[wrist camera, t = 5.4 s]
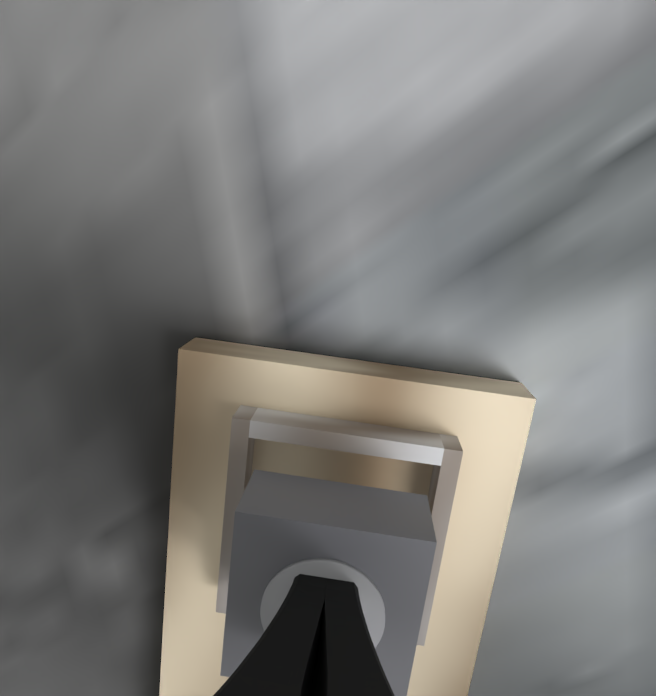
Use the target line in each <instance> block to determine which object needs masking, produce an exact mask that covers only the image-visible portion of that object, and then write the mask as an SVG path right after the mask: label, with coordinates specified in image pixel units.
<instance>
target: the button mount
mask: <svg viewBox="0 0 656 696" xmlns="http://www.w3.org/2000/svg"><path fill="white" fill-rule="evenodd" d="M535 402H536V398H535V397H534V396H533V395H532V394H531V393H530V392H529V391H528V390H527V389H526V387H525V386H524V385H523V384H522V383H520V382H512V381H505V380H498V379H491V378H484V377H476V376H469V375H462V374H455V373H448V372H441V371H433V370H426V369H419V368H412V367H405V366H397V365H390V364H383V363H376V362H369V361H362V360H354V359H347V358H340V357H333V356H326V355H318V354H311V353H304V352H297V351H290V350H283V349H275V348H268V347H261V346H254V345H247V344H239V343H232V342H225V341H218V340H211V339H204V338H196V337H195V338H194V339H192V340H191V341H189V342H188V343H186V344H185V345H184V346H182V347H181V348H179V349H178V367H177V385H176V403H175V421H174V439H173V457H172V475H171V493H170V511H169V529H168V547H167V565H166V583H165V601H164V619H163V637H162V655H161V673H160V691H159V696H213V695H214V694H215V693H216V692H217V691H218V690H219V689H220V688H221V686H222V685H223V684H224V683H225V682H226V681H227V680H228V678H229V677H226V676H220V673H221V662H222V650H223V639H224V628H225V617H226V606H227V594H228V583H229V572H230V561H231V550H232V539H233V527H234V516H235V510H236V508H237V506H238V504H239V502H240V499H241V497H242V495H243V493H244V491H245V489H246V486H247V484H248V482H249V480H250V478H251V476H252V473H253V471H254V469H255V470H261V471H268V472H275V473H281V474H288V475H295V476H301V477H308V478H315V479H321V480H328V481H335V482H341V483H348V484H355V485H361V486H368V487H375V488H381V489H388V490H395V491H401V492H408V493H415V494H421V495H427V497H428V502H429V507H430V511H431V516H432V521H433V526H434V531H435V536H436V541H437V544H436V550H435V555H434V560H433V565H432V570H431V575H430V580H429V585H428V590H427V595H426V600H425V605H424V610H423V615H422V620H421V626H420V631H419V636H418V641H417V646H416V651H415V656H414V661H413V666H412V671H411V676H410V681H409V686H408V691H407V696H467V695H468V691H469V687H470V683H471V678H472V674H473V670H474V665H475V661H476V657H477V652H478V648H479V644H480V639H481V635H482V631H483V627H484V622H485V618H486V614H487V609H488V605H489V601H490V596H491V592H492V588H493V583H494V579H495V575H496V570H497V566H498V562H499V558H500V553H501V549H502V545H503V540H504V536H505V532H506V527H507V523H508V519H509V514H510V510H511V506H512V502H513V497H514V493H515V489H516V484H517V480H518V476H519V471H520V467H521V463H522V458H523V454H524V450H525V445H526V441H527V437H528V433H529V428H530V424H531V420H532V415H533V411H534V407H535Z"/></svg>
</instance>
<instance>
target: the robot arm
mask: <svg viewBox="0 0 656 696" xmlns="http://www.w3.org/2000/svg"><path fill="white" fill-rule="evenodd" d="M213 696H395V695H394V693H393V691H392V688H391V686H390V684H389V682H388V680H387V677H386V675H385V673H384V670H383V668H382V665H381V663H380V660H379V658H378V655H377V652H376V650H375V647H374V644H373V642H372V639H371V636H370V633H369V630H368V627H367V624H366V620H365V617H364V614H363V610H362V606H361V602H360V597H359V592H358V587H357V586H356V584H355V583H354V582H349V581H343V580H336V579H330V578H324V577H317V576H311V575H305V574H299V575H298V576H296V577H295V578H294V580H293V583H292V586H291V588H290V590H289V592H288V594H287V596H286V598H285V600H284V601H283V603H282V605H281V607H280V608H279V610H278V612H277V613H276V615H275V616H274V618H273V620H272V621H271V623H270V624H269V626H268V627H267V629H266V630H265V632H264V633H263V635H262V636H261V637H260V639H259V640H258V642H257V643H256V644H255V646H254V647H253V648H252V650H251V651H250V652H249V653H248V655H247V656H246V657H245V659H244V660H243V661H242V663H241V664H240V665H239V666H238V668H237V669H236V670H235V671H234V672H233V674H232V675H231V676H230V677H229V678H228V680H227V681H226V682H225V683H224V684H223V685H222V686H221V688H220V689H219V690H218V691H217V692H216V693H215V694H214V695H213Z"/></svg>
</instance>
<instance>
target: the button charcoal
mask: <svg viewBox="0 0 656 696" xmlns="http://www.w3.org/2000/svg"><path fill="white" fill-rule="evenodd" d="M436 544H437V541H436V536H435V531H434V526H433V521H432V516H431V511H430V507H429V502H428V497H427V495H421V494H415V493H408V492H401V491H395V490H388V489H381V488H375V487H368V486H361V485H355V484H348V483H341V482H335V481H328V480H321V479H315V478H308V477H301V476H295V475H288V474H281V473H275V472H268V471H261V470H255V469H254V471H253V473H252V476H251V478H250V480H249V482H248V484H247V486H246V489H245V491H244V493H243V495H242V497H241V499H240V502H239V504H238V506H237V508H236V510H235V516H234V527H233V539H232V550H231V561H230V572H229V583H228V594H227V606H226V617H225V628H224V639H223V650H222V662H221V673H220V676H226V677H230V676H231V675H232V674H233V672H234V671H235V670H236V669H237V668H238V666H239V665H240V664H241V663H242V661H243V660H244V659H245V657H246V656H247V655H248V653H249V652H250V651H251V650H252V648H253V647H254V646H255V644H256V643H257V642H258V640H259V639H260V637H261V636H262V635H263V633H264V632H265V630H266V629H267V627H268V626H269V624H270V623H271V621H272V620H273V618H274V616H275V615H276V613H277V612H278V610H279V608H280V607H281V605H282V603H283V601H284V600H285V598H286V596H287V594H288V592H289V590H290V588H291V586H292V583H293V580H294V578H295V577H296V576H298V575H299V574H305V575H311V576H317V577H324V578H330V579H336V580H343V581H349V582H354V583H355V584H356V586H357V587H358V592H359V597H360V602H361V606H362V610H363V614H364V617H365V620H366V624H367V627H368V630H369V633H370V636H371V639H372V642H373V644H374V647H375V650H376V652H377V655H378V658H379V660H380V663H381V665H382V668H383V670H384V673H385V675H386V677H387V680H388V682H389V684H390V686H391V688H392V691H393V693H394V695H395V696H407V691H408V686H409V681H410V676H411V671H412V666H413V661H414V656H415V651H416V646H417V641H418V636H419V631H420V626H421V620H422V615H423V610H424V605H425V600H426V595H427V590H428V585H429V580H430V575H431V570H432V565H433V560H434V555H435V550H436Z"/></svg>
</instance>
